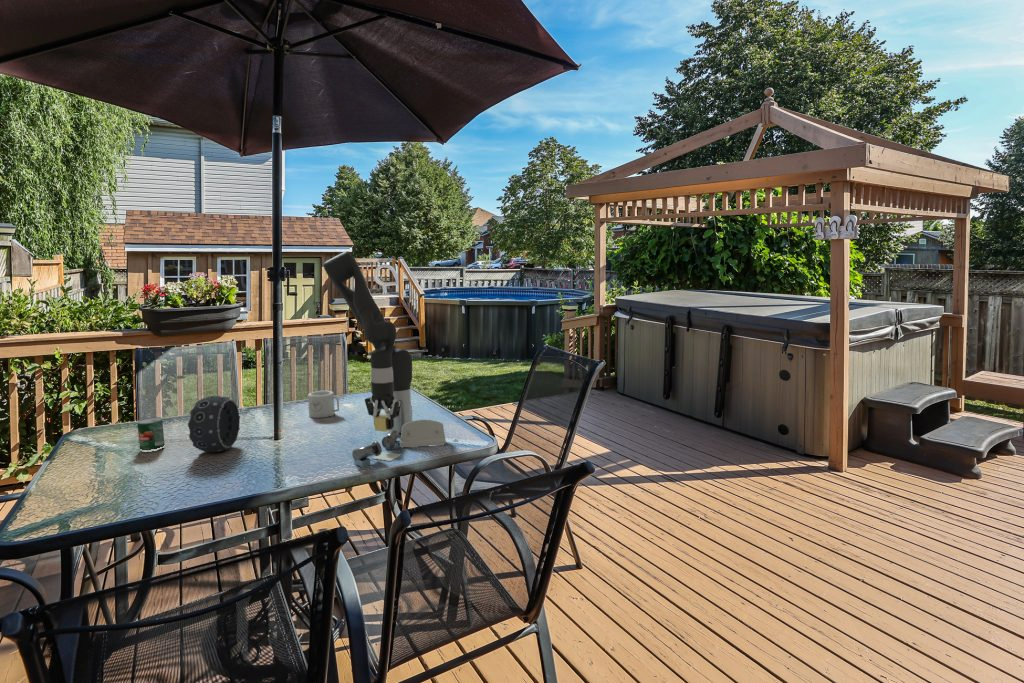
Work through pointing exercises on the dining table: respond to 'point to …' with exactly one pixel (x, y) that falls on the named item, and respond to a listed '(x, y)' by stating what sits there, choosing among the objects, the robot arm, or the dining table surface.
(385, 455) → the plate
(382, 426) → the block
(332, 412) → the mug
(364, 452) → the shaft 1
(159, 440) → the canned tomato
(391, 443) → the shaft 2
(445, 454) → the dining table surface
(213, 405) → the dark grey drum piece
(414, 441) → the grey rounded block
